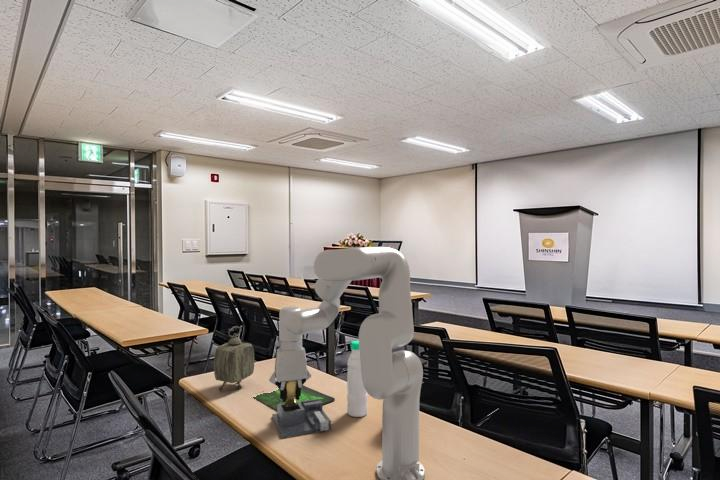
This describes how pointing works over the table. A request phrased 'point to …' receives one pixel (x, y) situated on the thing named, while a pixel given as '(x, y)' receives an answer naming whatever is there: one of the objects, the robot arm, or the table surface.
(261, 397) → the mouse mat
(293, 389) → the peg
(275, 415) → the dock
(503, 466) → the table surface
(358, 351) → the water bottle
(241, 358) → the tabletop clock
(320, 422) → the lock pin
